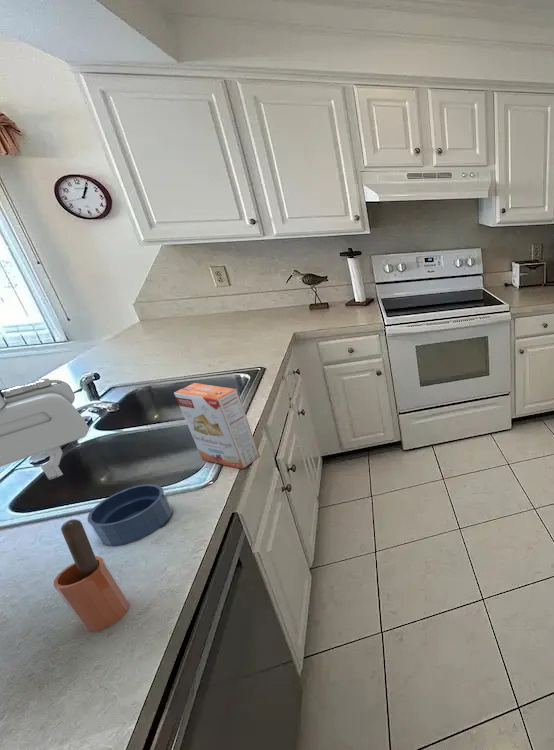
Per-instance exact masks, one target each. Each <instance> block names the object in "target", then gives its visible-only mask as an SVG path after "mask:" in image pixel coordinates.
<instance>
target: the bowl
mask: <svg viewBox="0 0 554 750" xmlns="http://www.w3.org/2000/svg"><path fill="white" fill-rule="evenodd" d="M172 513H173V507H172V504H171V503H170V500H169V499H168V496H167V494H166V493H165V490H164V488H163V487H162V486H160V485H159V484H154V483H147V484H139V485H135V486H132V487H131V486H130V487H128V488H125V489H123V490H120V491H117V492H116V493H113V494H112V495H110V496H108V497H106V498H104V499H103V500H102V501H100V502H98V504H96V505H95V506H93V508H92V509H91V510H90V512H89V513H88V515H87V523H88V525H89V527H90V528H91V529H92V532H93V533H94V535H95V536H96V538H97V539H98V541H99V542H100V543H101V544H102V545H104V546H110V547H115V546H122V545H127V544H130V543H132V542H136V541H139V540H141V539H143V538H145V537H147V536H149V535H151V534H153V533H154V532H156V531H157V530H158V529H159V528H161V527H162V526H163V525H164V524H165V523H166V522H167V521H168V520H169V519H170V517H171V515H172Z"/></svg>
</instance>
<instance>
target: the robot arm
mask: <svg viewBox="0 0 554 750" xmlns="http://www.w3.org/2000/svg"><path fill="white" fill-rule="evenodd" d="M75 398H76V396H75V393H74V391H73V389H72V387H71V386H70V384H69V383H67V382H65V381H64V380H61V379H49V378H41V379H37V380H34V381H33V382H28V383H24V384H19V385H15V386H10V387H6V388H2V389H0V468H1V467H4V466H7V465H10V464H12V463H15V462H19V461H21V460H24V459H27V458H29V457H32V456H35V455H38V454H41V453H44V452H45V453H46V454H47V456H48V457H49V460H48V463H46V464H43V465H41V466H40V467H41V469H42V471H43V472H44V474H45V477H46V478H47V480H49V481H51V480H53V479H56V478H59V477H61V476H63V475H64V473H63V472H62V470H61V469H60V467H59V466H60V463H61V459H62V456H63V453H64V452H63V450H62V448H61V446H64V445H66V444H69V443H72V442H74V441H77V440H81V439H83V438H85V437H86V436H87V434H88V432H89V431H90V427H89V425H88V424H87V421H85V419H84V417H83V416H82V415H81V414H80V412H79V411H78V409H77V408H76V407H75V406H74V405H73V403H74V402H75Z"/></svg>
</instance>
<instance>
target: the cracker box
mask: <svg viewBox="0 0 554 750" xmlns="http://www.w3.org/2000/svg"><path fill="white" fill-rule="evenodd" d="M173 395H174V396H175V399H176V401H177V403H178V406H179V408H180V410H181V413H182V415H183V417H184V420H185V422H186V424H187V427H188V429H189V432H190V434H191V436H192V439H193V441H194V443H195V446H196V448H197V450H198V454H199V455H200V458H201V460H202V461H204V462H208V461H211V462H210V463H213V462H217V463H220V464H219V465H222V466H226V467H231V468H236V469H239V470H244V469H246V468H247V467H248V466H250V465H251V464H253V463H254V462H256V461H257V460H258V459H259V458H260V457H261V455H260V452H259V450H258V446H257V444H256V440H255V438H254V435H253V432H252V430H251V426H250V423H249V420H248V418H247V414H246V412H245V409H244V405H243V403H242V400H241V397H240V394H239V392H238V389H237V388H231V387H224V386H217V385H211V384H205V383H198V382H193V383H190V384H189V385H187V386H185V387H182V388H180V389H178V390H176V391H174V392H173ZM217 463H216V464H217Z"/></svg>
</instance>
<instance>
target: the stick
mask: <svg viewBox="0 0 554 750" xmlns="http://www.w3.org/2000/svg"><path fill="white" fill-rule="evenodd" d="M60 531H61V534H62V536H63V538H64V540H65V543H66V545H67V547H68V550H69V552H70V554H71V557H72V559H73V563H75V564H76V566H77V569H78V571H79V573H80V576H81V578H82V580H83V579H84V578H86V577H88V576H89V575H90V574H92V573H93V572H94V571H95V570H96V569H97V567H98V566H99V565H98V563H97V560H96V558H95V556H96V555H95V553H94V551H93V548H92V545H91V543H90V540H89V538H88V536H87V535H88V534H87V533H86V530H85V528H84V525H83V523H82V521H81V520H79V519H75V518H74V519H69V520H67V521H65V522H64V523H63V524H62V525H61V527H60Z"/></svg>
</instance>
